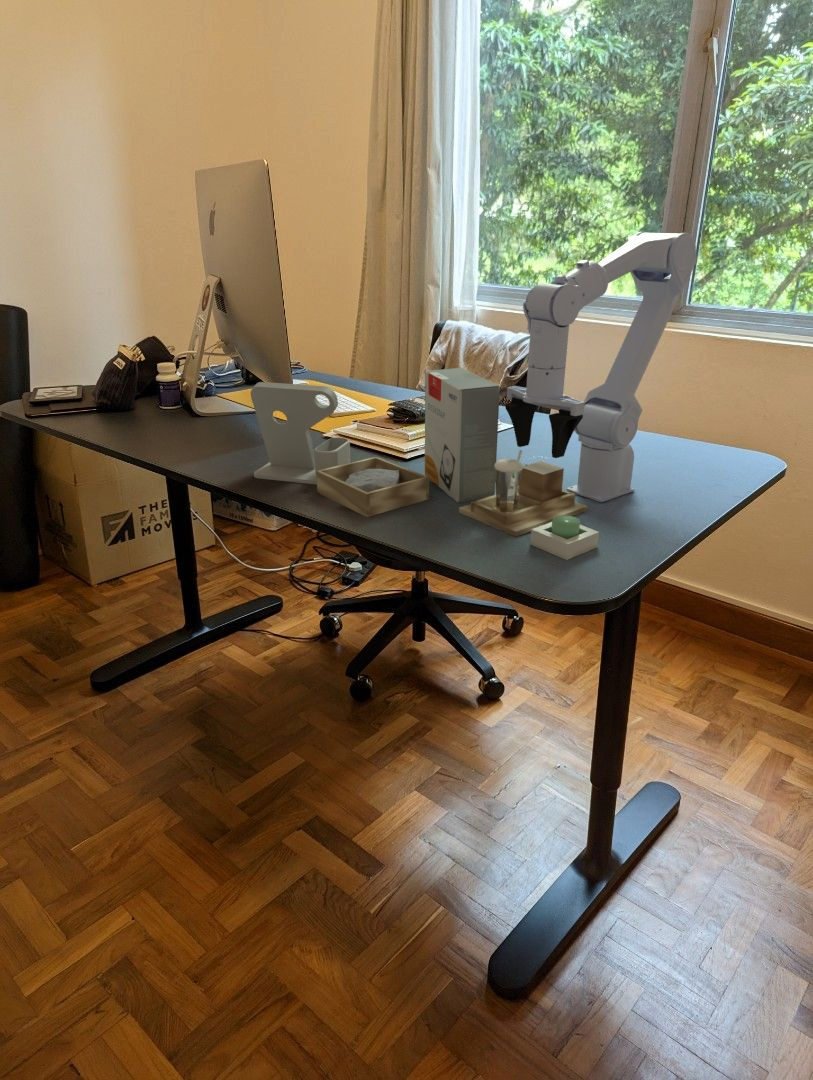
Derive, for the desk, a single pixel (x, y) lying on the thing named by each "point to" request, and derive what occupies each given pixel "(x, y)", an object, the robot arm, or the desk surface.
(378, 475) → the stone block
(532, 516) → the pallet
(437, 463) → the hard drive box
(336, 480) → the wooden tray
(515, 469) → the milkshake
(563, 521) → the button
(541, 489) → the walnut block
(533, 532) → the cream square tray
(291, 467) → the phone holder
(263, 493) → the desk surface
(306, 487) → the desk surface
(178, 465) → the desk surface
